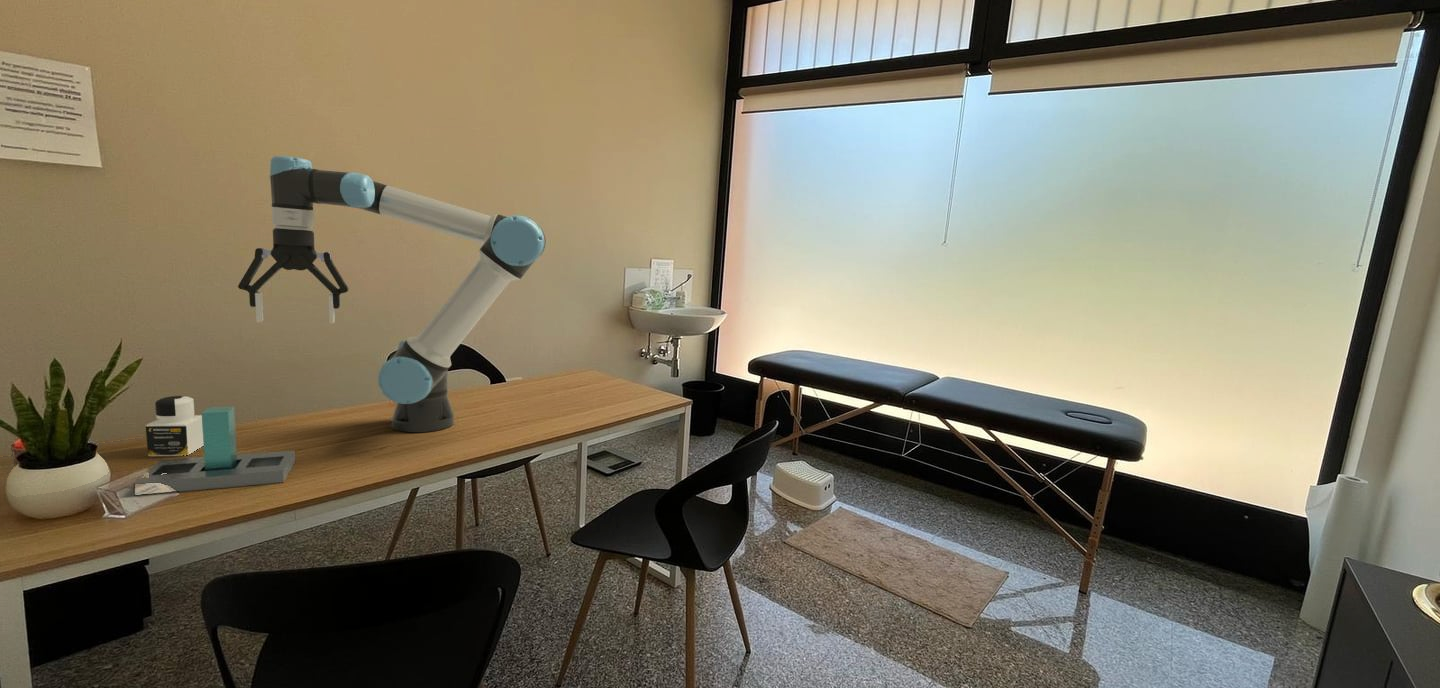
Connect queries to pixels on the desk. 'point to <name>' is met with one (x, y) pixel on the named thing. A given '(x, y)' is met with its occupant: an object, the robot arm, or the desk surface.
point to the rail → (221, 472)
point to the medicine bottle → (174, 428)
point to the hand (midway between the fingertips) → (296, 322)
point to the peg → (219, 438)
